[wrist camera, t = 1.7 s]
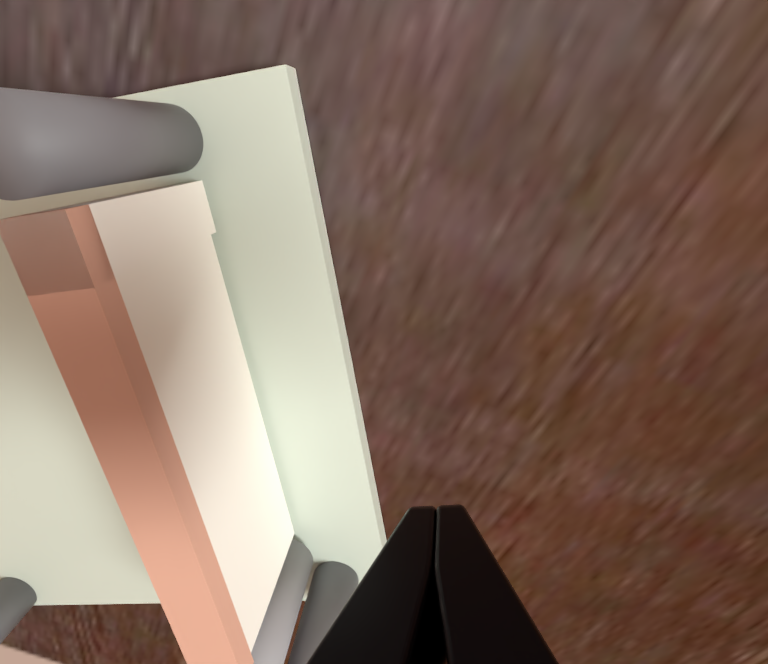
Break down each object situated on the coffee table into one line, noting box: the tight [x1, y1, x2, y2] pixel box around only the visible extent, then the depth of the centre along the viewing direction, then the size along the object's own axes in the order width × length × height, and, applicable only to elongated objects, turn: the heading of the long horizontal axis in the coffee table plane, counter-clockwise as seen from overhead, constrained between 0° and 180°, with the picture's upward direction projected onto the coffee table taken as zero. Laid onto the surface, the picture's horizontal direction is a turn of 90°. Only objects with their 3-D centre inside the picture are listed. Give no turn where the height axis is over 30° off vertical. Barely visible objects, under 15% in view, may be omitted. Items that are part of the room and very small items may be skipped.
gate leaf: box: [0, 180, 313, 664], centre depth 15 cm, size 16×2×6 cm, turn 9°
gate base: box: [0, 64, 387, 664], centre depth 17 cm, size 21×22×8 cm
